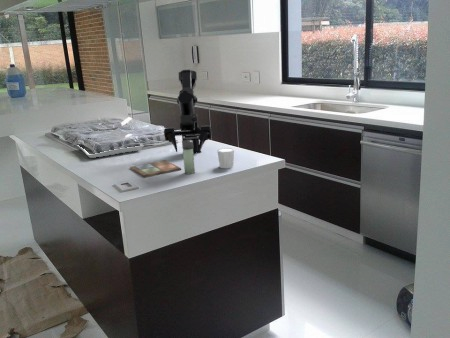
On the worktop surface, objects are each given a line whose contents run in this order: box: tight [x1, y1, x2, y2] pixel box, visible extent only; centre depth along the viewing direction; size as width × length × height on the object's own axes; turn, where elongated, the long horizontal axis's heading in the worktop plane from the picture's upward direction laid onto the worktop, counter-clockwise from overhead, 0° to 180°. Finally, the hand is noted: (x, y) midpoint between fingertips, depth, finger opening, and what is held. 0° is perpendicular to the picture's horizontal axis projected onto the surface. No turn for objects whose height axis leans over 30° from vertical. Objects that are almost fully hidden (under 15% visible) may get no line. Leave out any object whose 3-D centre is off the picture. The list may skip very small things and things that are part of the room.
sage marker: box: [181, 140, 196, 175], centre depth 170 cm, size 4×4×13 cm
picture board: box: [129, 159, 182, 178], centre depth 179 cm, size 16×16×1 cm
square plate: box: [76, 143, 145, 159], centre depth 215 cm, size 27×27×4 cm
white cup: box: [217, 147, 235, 169], centre depth 177 cm, size 7×7×7 cm
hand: (188, 150), depth 170 cm, fingers open, 9 cm apart
